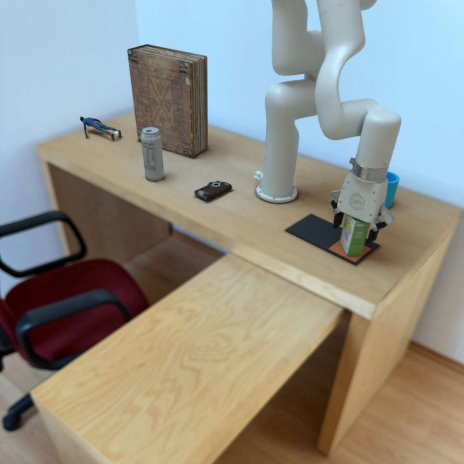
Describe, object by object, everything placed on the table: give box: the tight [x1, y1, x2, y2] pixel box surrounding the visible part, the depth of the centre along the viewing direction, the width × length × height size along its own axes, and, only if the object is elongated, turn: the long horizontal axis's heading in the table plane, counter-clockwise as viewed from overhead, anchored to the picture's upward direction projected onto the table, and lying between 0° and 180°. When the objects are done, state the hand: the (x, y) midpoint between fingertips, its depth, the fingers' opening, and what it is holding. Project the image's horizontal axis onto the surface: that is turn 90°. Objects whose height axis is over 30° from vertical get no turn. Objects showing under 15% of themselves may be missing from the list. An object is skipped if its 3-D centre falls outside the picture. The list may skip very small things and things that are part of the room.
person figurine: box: [79, 116, 122, 142], centre depth 163 cm, size 11×4×18 cm
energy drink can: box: [140, 127, 165, 182], centre depth 135 cm, size 6×6×15 cm
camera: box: [193, 180, 233, 201], centre depth 133 cm, size 6×3×11 cm
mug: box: [384, 170, 401, 209], centre depth 132 cm, size 12×8×8 cm
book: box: [126, 43, 209, 159], centre depth 149 cm, size 25×9×30 cm, turn 57°
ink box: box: [340, 214, 371, 256], centre depth 109 cm, size 7×4×13 cm, turn 5°
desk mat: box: [285, 213, 380, 266], centre depth 118 cm, size 22×12×1 cm, turn 47°
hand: (353, 234), depth 110 cm, fingers open, 9 cm apart
